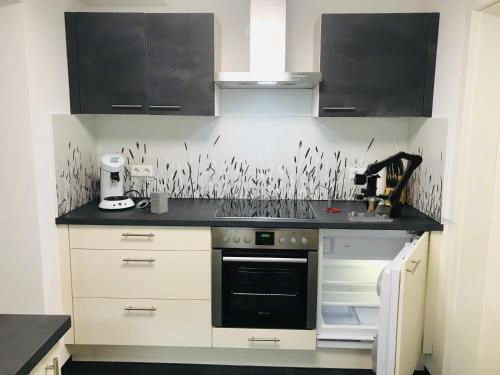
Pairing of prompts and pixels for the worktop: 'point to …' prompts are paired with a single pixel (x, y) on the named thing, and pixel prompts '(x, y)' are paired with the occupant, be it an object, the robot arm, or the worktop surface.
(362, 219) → the plate with square hole
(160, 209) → the supplement box
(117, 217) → the worktop surface
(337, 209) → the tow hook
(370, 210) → the brass pin
